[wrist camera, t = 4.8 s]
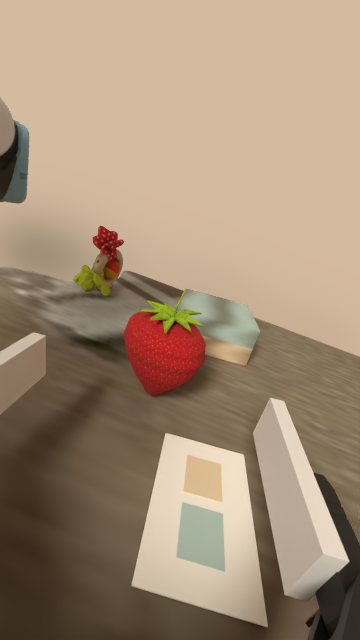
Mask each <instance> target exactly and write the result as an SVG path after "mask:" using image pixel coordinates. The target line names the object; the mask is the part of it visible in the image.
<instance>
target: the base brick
mask: <svg viewBox="0 0 360 640" xmlns="http://www.w3.org/2000/svg"><path fill="white" fill-rule="evenodd" d="M183 309H186V310H191V311H195V312H200V313H201V314H198V315H190V316H191V317H193V318H194V319H195V320H197V321H198V322H199V323H201V324H202V325H203V326H204V327H201V326H197V325H195V326H196V327H197V328H198V329H199V331H200V333H201V335H202V337H203V339H204V341H205V344H206V347H205V355H207V356H211V357H214V358H218V359H222V360H225V361H229V362H233V363H236V364H240V365H244V366H246V364H247V362H248V360H249V357H250V355H251V352H252V350H253V347H254V345H255V343H256V340H257V338H258V335H259V333H260V330H259V328H258V326H257V323H256V321H255V319H254V317H253V315H252V313H251V311H250V309H249V306H248V305H246V304H242V303H238V302H235V301H230V300H227V299H223V298H219V297H215V296H212V295H208V294H204V293H200V292H196V291H193V290H189V289H187V290H186V292H185V294H184V296H183V298H182V301H181V303H180V306H179V308H178V311H177V313H178V312H180V311H181V310H183Z"/></svg>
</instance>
